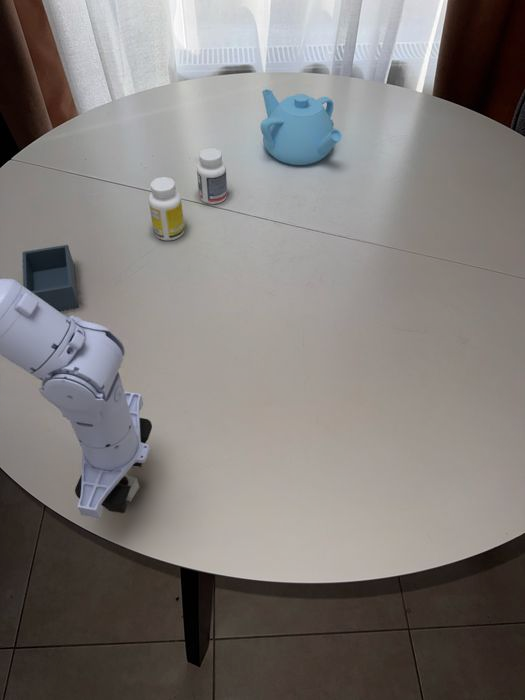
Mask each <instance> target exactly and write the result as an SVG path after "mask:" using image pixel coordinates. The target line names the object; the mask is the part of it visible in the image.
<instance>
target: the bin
mask: <svg viewBox="0 0 525 700" xmlns="http://www.w3.org/2000/svg"><path fill="white" fill-rule="evenodd" d="M76 277H77V276H76V268H75V264H74V260H73V257H72V254H71V250H70V248H69V244H64V245H57V246H50V247H46V248H38V249H31V250H27V251H22V286H24V287H25V288H27V289H28V290H29V291H31V292H32V293H34V294H35V295H36V296H38V297H39V298H41V299H42V300H43V301H45V302H46V303H48V304H49V305H50V306H52V307H53V308H55V309H56V310H57V311H59V312H61V311H67V310H72V309H77V308H78V309H79V308H80V307H79V305H80V304H79V297H78V287H77V278H76Z"/></svg>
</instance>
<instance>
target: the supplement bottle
mask: <svg viewBox="0 0 525 700" xmlns="http://www.w3.org/2000/svg"><path fill="white" fill-rule="evenodd" d="M150 191H151V193H150V194H149V196H148V205H149V211H150V217H151V223H152V229H153V233H154V235H155V237H156V238H158V239H159V240H162V241H175V240H177V239H179V238H181V237H182V236H183V234H184V233H185V221H184V213H183V205H182V198H181V195H180V192H178V190H177V188H176V182H175V180H173V178H170V177H166V176H162V177H157V178H154V179H153V180H152V181H151V183H150Z"/></svg>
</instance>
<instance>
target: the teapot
mask: <svg viewBox="0 0 525 700" xmlns="http://www.w3.org/2000/svg"><path fill="white" fill-rule="evenodd" d="M262 97H263V102H264V106H265V110H266V115H267V118H264V119H263V120H262V121H261V122H260V131H261V132H260V133H261V134H262V144H263V146H264V148H265V149H266V151H267V152H268V153H269V154H270V155H271V156H272V157H273V158H274V159H276V160H277V161H278V162H281V163H283V164H287V165H292V166H307V165H313V164H315V163H318V162H319V161H321V160H323V159H324V158H325V157H326V156H328V155H329V154H330V152H331V151H332V149H333V147H334V146H335V145H336V144H338V142H340V141H341V140H342V137H343V136H342V132H341V131H340V130H339V129H336V128H335V129H334V125H335V124H334V120H332V115H333V112H334V101H333V100H332V99H331V98H330V97H328V96H321V97H319V98H317V99H316V98H314V97H312V96H309V95H307V94H304V93H297V94H295V95H292V96H291V95H290V96H288V97H287V96H286V97H285V98H283V99H282V100H281V101H280V102H279V100H278V99H277V98H276V95H275V94H274V92H273V90H271V89H268V88H266V89H263V90H262ZM324 104H326V107H324Z"/></svg>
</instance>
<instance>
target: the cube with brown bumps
mask: <svg viewBox="0 0 525 700" xmlns="http://www.w3.org/2000/svg"><path fill="white" fill-rule="evenodd" d="M117 484H122V485H128V486H131V488H130V491H129V494H128V496H127V499H126V501H128V502H132V501H133V499H134V497H135V496H136V494H137V492H138V490H139V488H140V485H139V481H138V478H137V477H134V476H131V475H129V474H127V473H126V474H125V475H124V476H123V477H122V479H121V480H120V481H119V482H118V483H117Z"/></svg>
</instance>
